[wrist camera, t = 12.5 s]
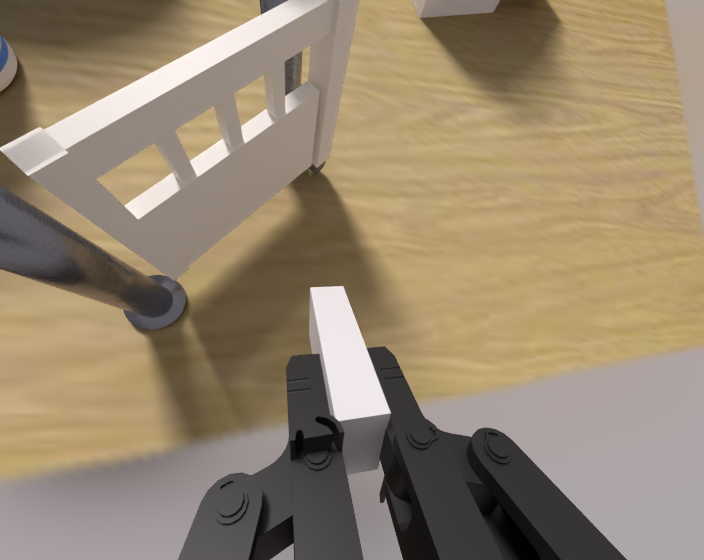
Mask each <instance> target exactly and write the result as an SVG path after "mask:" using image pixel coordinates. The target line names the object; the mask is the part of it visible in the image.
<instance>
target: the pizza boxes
mask: <svg viewBox="0 0 704 560" xmlns="http://www.w3.org/2000/svg"><path fill="white" fill-rule="evenodd" d="M410 1H411V3H412V5H413V7H414V9H415V10H416V12H417V14H418V16H419V18H426V17H439V16H452V15H466V14H479V13H492V12H494V10H495V8H496V6H497V5H498V3H499V1H500V0H410Z"/></svg>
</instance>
